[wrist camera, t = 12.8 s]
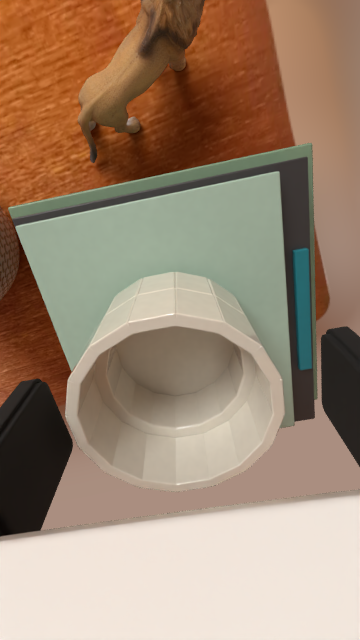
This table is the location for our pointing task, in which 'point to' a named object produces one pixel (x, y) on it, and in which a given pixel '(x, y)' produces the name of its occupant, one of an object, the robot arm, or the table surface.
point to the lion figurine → (138, 64)
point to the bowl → (174, 387)
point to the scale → (189, 259)
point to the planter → (7, 254)
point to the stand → (189, 176)
